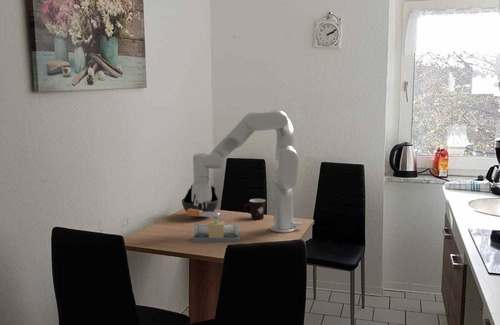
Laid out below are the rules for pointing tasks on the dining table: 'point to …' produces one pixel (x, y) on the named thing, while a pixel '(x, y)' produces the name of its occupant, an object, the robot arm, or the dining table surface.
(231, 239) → the valve base
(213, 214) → the valve lever
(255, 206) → the coffee mug
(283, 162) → the robot arm
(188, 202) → the bowl of black rocks
